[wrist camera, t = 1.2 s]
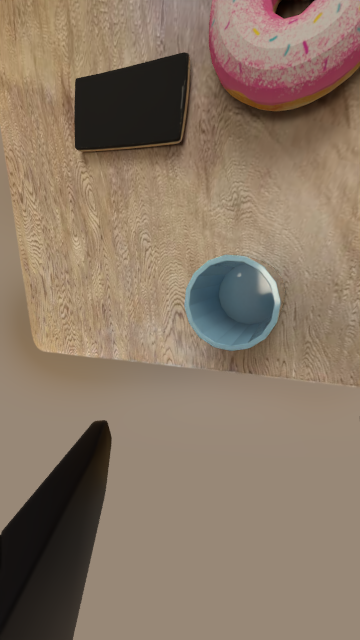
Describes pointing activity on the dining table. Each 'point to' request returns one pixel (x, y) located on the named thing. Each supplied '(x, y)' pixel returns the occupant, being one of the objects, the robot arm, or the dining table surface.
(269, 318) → the blue cup
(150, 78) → the smartphone
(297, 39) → the donut
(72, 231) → the dining table surface
